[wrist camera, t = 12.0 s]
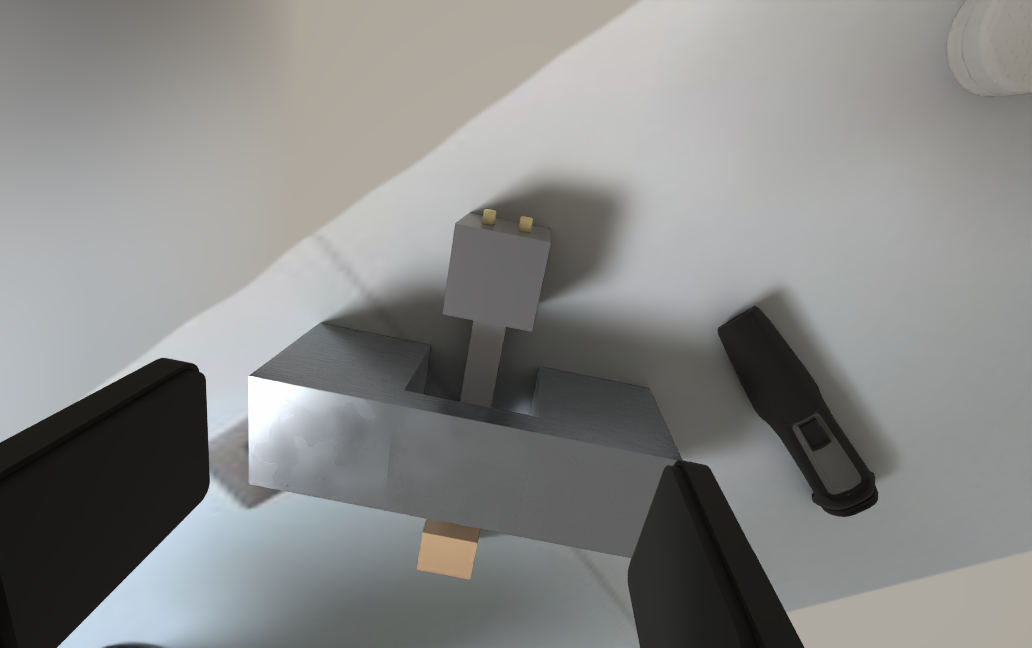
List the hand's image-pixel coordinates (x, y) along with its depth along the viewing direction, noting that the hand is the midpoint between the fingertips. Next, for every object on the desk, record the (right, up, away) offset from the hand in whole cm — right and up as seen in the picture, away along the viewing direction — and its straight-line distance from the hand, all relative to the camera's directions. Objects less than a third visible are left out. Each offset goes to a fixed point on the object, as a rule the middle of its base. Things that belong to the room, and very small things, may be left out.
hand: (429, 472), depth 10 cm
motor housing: (-1, -2, +20) cm, 20 cm away
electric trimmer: (+18, -2, +19) cm, 27 cm away
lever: (-1, -1, +20) cm, 20 cm away
